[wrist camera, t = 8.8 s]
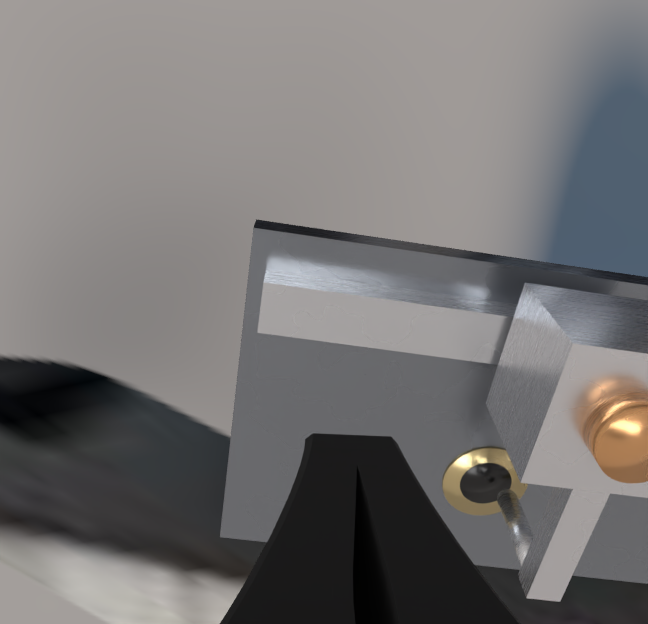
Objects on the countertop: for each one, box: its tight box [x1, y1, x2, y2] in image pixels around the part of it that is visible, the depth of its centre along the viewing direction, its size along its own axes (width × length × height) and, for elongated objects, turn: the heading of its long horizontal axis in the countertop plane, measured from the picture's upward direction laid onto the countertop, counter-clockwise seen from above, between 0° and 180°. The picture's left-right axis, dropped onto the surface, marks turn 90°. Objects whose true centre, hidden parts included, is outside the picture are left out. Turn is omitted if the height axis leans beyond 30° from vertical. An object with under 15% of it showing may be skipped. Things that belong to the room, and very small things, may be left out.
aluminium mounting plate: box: [220, 220, 648, 584], centre depth 18 cm, size 20×12×6 cm, turn 81°
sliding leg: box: [486, 283, 648, 602], centre depth 17 cm, size 4×8×5 cm, turn 171°
